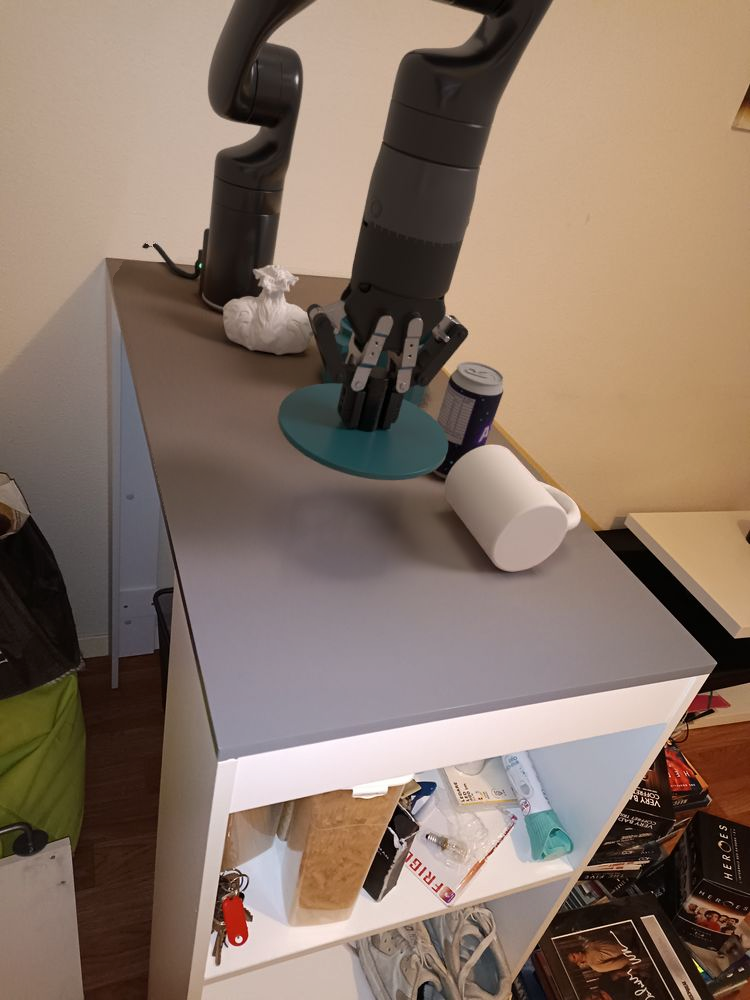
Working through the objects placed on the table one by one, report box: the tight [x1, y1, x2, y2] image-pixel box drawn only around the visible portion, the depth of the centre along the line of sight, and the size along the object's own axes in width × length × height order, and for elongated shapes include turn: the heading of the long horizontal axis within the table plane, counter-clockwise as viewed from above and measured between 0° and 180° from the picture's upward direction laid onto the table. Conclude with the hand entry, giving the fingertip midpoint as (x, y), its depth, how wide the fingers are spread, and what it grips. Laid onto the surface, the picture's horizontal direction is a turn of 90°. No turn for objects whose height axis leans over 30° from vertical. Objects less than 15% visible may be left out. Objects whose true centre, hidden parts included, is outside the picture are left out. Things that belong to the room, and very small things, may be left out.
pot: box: [321, 316, 432, 407], centre depth 93 cm, size 14×19×8 cm
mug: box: [443, 444, 582, 573], centre depth 71 cm, size 12×10×8 cm
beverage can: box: [432, 361, 504, 480], centre depth 78 cm, size 6×6×12 cm
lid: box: [277, 366, 448, 481], centre depth 62 cm, size 15×15×6 cm
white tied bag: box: [222, 263, 314, 356], centre depth 96 cm, size 12×8×11 cm
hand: (364, 423), depth 63 cm, fingers closed on lid, 2 cm apart
